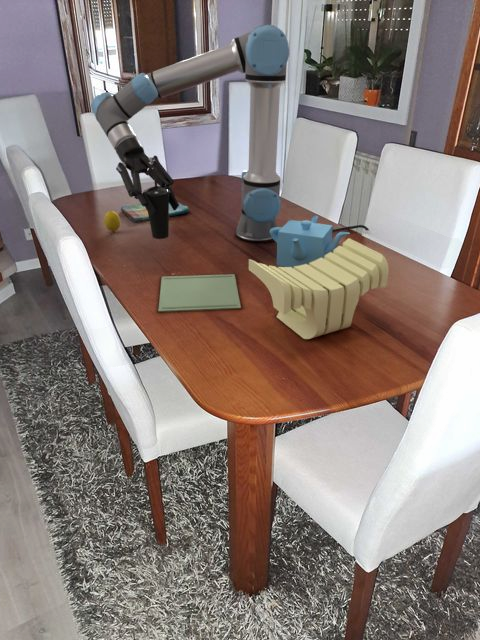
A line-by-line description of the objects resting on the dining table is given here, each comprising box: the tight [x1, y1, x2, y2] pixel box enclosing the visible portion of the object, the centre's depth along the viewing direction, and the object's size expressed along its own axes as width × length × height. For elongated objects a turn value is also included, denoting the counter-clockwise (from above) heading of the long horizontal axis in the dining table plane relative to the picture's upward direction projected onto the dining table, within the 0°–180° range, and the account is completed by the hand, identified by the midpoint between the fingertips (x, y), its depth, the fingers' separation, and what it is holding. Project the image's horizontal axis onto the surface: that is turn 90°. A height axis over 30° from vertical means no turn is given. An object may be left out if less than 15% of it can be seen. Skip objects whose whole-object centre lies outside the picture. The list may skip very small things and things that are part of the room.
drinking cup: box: [142, 168, 170, 240], centre depth 154 cm, size 8×8×20 cm
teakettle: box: [270, 214, 351, 269], centre depth 161 cm, size 19×19×15 cm
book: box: [120, 202, 191, 223], centre depth 210 cm, size 17×23×2 cm
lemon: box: [103, 210, 121, 233], centre depth 189 cm, size 6×6×8 cm
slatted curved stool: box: [248, 237, 390, 340], centre depth 129 cm, size 30×16×18 cm, turn 119°
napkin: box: [157, 273, 242, 313], centre depth 149 cm, size 22×22×1 cm
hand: (165, 210), depth 152 cm, fingers closed on drinking cup, 8 cm apart
